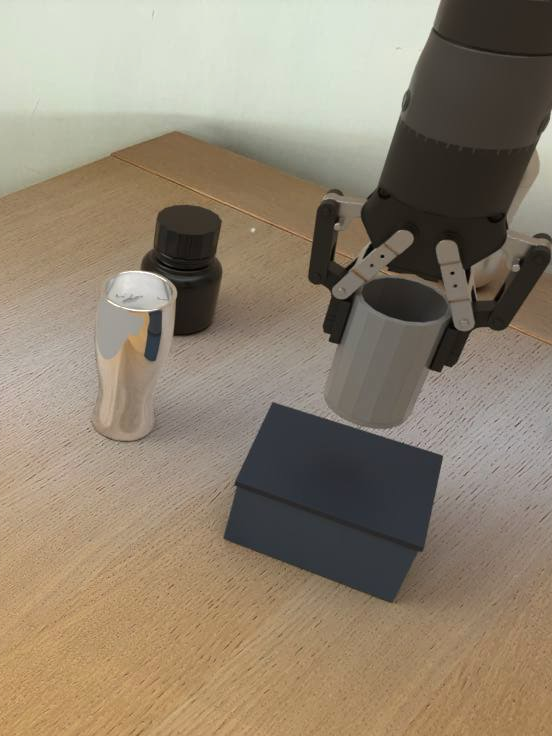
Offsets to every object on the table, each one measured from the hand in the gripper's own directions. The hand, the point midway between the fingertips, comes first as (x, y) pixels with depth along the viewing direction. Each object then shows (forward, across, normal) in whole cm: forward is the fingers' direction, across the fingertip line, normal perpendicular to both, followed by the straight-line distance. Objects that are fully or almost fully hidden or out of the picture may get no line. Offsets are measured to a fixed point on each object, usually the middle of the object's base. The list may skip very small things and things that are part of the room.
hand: (384, 350), depth 59 cm
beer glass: (+19, +20, -4) cm, 28 cm away
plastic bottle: (+19, -6, -48) cm, 52 cm away
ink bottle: (+19, +22, -24) cm, 38 cm away
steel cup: (+5, 0, 0) cm, 5 cm away
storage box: (+19, 0, 0) cm, 19 cm away
